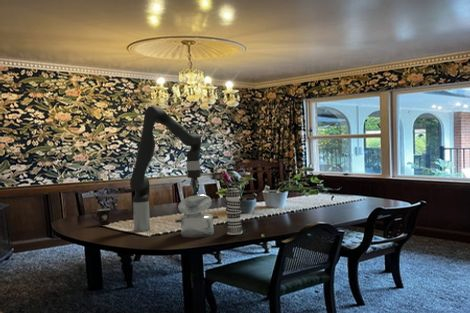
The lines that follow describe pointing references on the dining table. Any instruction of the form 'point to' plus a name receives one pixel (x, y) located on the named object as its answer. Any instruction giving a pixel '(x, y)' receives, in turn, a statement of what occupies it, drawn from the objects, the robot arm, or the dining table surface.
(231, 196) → the decorative candle
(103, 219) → the coffee mug
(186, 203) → the pot lid
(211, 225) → the cooking pot
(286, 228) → the dining table surface
